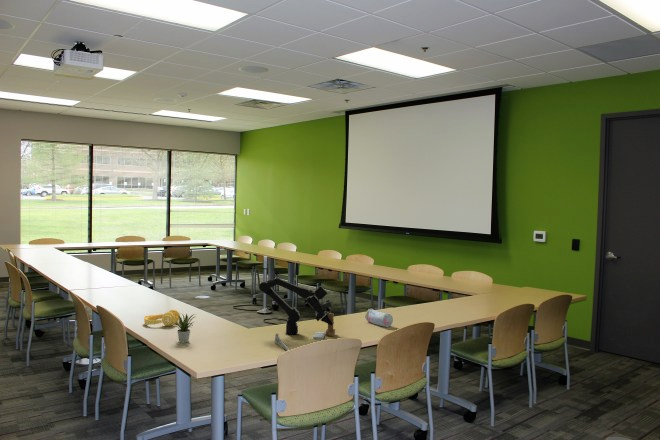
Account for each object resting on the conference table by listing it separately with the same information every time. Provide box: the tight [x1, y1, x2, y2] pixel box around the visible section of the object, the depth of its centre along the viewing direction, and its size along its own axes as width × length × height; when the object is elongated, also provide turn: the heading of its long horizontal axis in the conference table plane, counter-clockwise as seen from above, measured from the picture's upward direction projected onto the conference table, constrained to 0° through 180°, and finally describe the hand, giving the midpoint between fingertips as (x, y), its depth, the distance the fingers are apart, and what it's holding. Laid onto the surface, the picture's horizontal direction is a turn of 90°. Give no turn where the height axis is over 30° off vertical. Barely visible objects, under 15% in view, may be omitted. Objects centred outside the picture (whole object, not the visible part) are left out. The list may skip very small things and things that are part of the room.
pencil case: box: [364, 308, 394, 328], centre depth 345 cm, size 21×9×10 cm, turn 32°
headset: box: [143, 309, 181, 327], centre depth 333 cm, size 18×21×9 cm
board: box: [312, 331, 326, 340], centre depth 310 cm, size 6×13×1 cm, turn 175°
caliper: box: [274, 333, 291, 352], centre depth 284 cm, size 20×1×6 cm, turn 28°
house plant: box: [173, 313, 196, 343], centre depth 293 cm, size 14×14×16 cm
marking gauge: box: [325, 312, 336, 337], centre depth 313 cm, size 5×6×13 cm
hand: (333, 324), depth 313 cm, fingers closed on marking gauge, 3 cm apart
